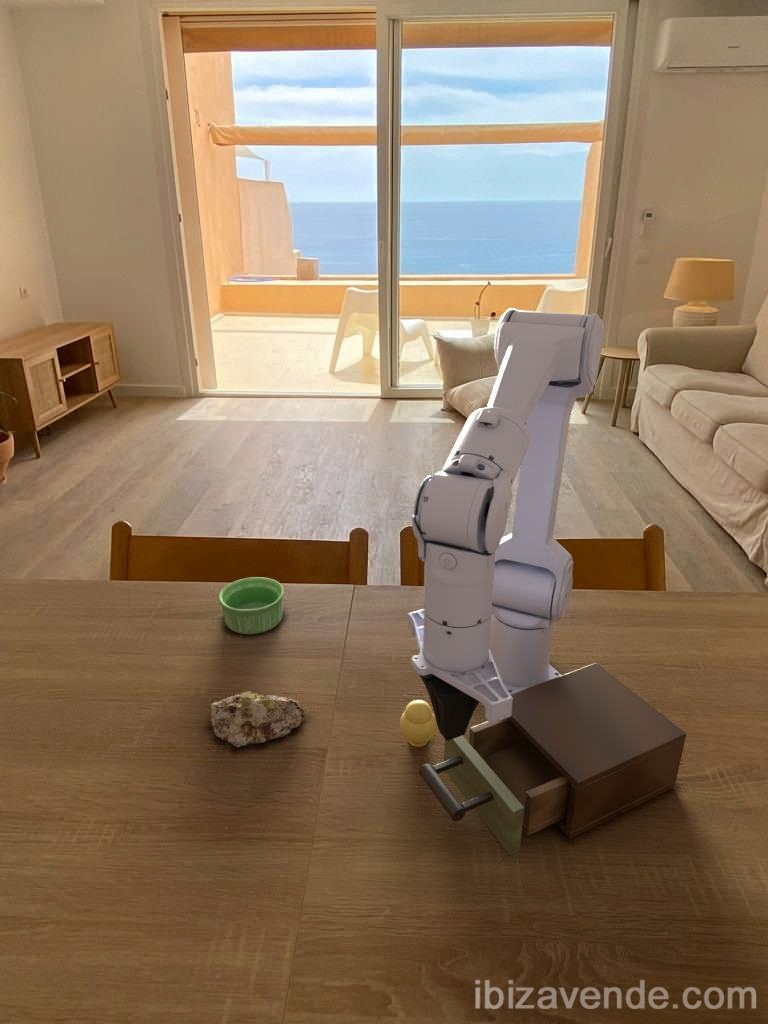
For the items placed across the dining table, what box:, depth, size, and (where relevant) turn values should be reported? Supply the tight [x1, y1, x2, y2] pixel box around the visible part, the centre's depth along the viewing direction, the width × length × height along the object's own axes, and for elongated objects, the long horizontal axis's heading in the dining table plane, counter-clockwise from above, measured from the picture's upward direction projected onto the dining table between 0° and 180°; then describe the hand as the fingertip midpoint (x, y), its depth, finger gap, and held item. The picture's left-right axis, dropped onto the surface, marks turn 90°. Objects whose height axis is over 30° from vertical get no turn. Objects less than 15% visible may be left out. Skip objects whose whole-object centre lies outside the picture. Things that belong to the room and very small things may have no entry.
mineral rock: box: [210, 690, 306, 748], centre depth 79 cm, size 11×4×8 cm
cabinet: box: [508, 662, 687, 839], centre depth 71 cm, size 14×13×7 cm
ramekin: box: [218, 576, 285, 635], centre depth 98 cm, size 9×9×4 cm
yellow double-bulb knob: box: [399, 699, 438, 748], centre depth 76 cm, size 4×4×5 cm
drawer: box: [418, 718, 572, 856], centre depth 67 cm, size 17×11×5 cm
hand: (452, 732), depth 64 cm, fingers closed
